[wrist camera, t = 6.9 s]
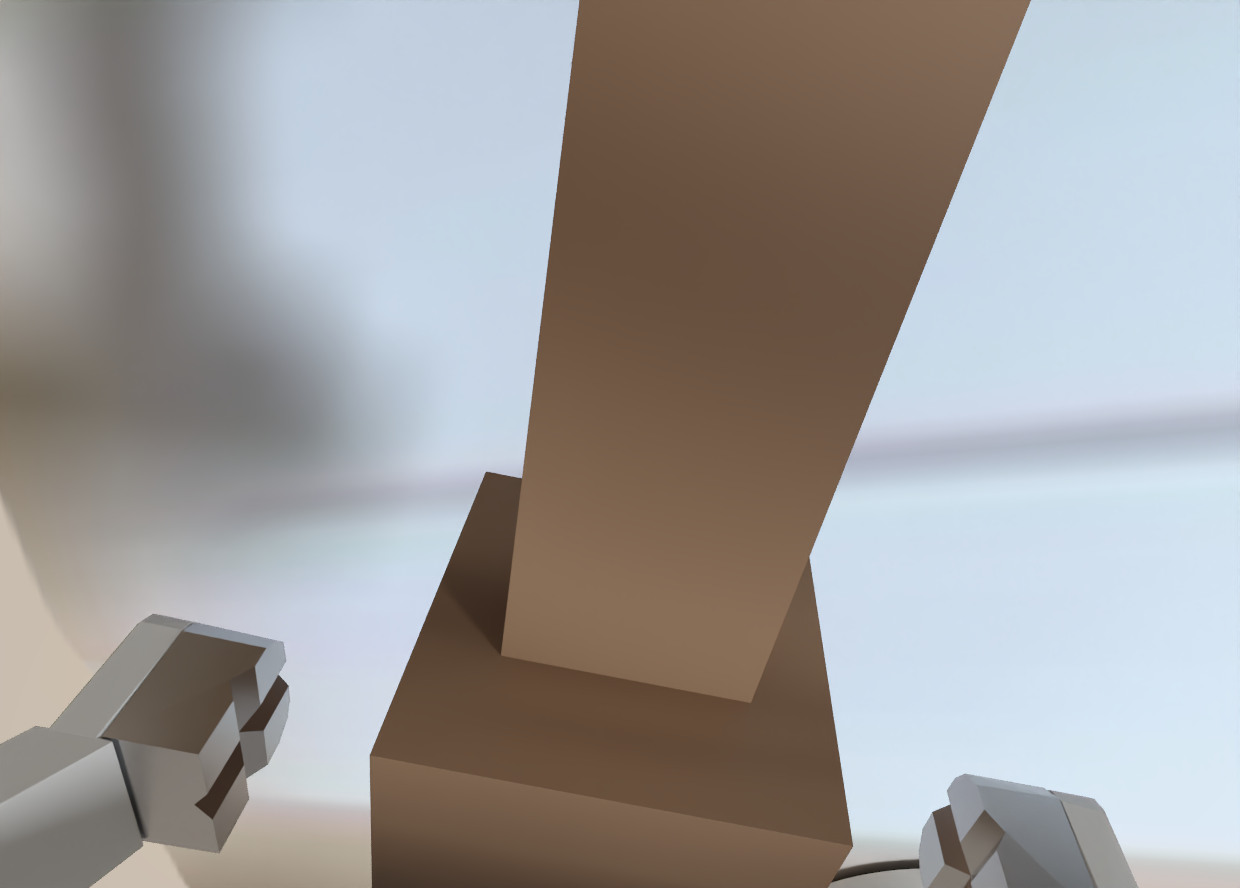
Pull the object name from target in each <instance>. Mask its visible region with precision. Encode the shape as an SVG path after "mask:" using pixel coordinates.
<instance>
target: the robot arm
mask: <svg viewBox="0 0 1240 888" xmlns="http://www.w3.org/2000/svg"><path fill="white" fill-rule="evenodd" d="M285 662H286V656H285V649H284V643H283V642H281V641H277V640H272V639H268V638H263V637H259V636H254V635H250V634H245V633H241V632H236V631H232V630H228V629H223V628H219V627H214V626H210V625H205V624H201V623H196V622H192V621H187V620H182V619H177V618H172V617H167V616H162V615H157V614H152V615H151V616H149V617H147V618H146V619H144V620H143V621H141V622H140V623H138V624H137V625H136V626H135V628H134V629H133V630H132V631H131V632H130V633H129V635H128V636H127V637H126V638H125V639H124V641H123V642H122V643H121V644H120V645H119V646H118V648H117V649H116V650H115V651H114V652H113V654H112V655H111V656H110V657H109V658H108V659H107V661H106V662H105V663H104V664H103V665H102V667H101V668H100V669H99V670H98V671H97V672H96V674H95V675H94V676H93V677H92V678H91V680H90V681H89V682H88V683H87V684H86V686H85V687H84V688H83V689H82V690H81V691H80V693H79V694H78V695H77V696H76V697H75V698H74V700H73V701H72V702H71V703H70V704H69V706H68V707H67V708H66V709H65V710H64V712H63V713H62V714H61V715H60V716H59V717H58V719H57V720H56V721H55V722H54V723H53V725H52V726H51V727H50V728H45V727H39V726H35V727H33V728H31V729H29V730H27V731H25V732H23V733H21V734H20V735H17V736H15V737H14V738H11V739H10V740H7V741H6V742H4V743H2V744H0V888H89V887H90V886H92V885H93V884H94V883H96V882H97V881H98V880H99V879H101V878H102V877H103V876H105V875H106V874H107V873H109V872H110V871H111V870H113V869H114V868H115V867H116V866H118V865H119V864H120V863H122V862H123V861H124V860H126V859H127V858H128V857H129V856H131V855H132V854H133V853H135V852H136V851H137V850H139V849H140V848H141V847H142V846H143V841H147V842H153V843H159V844H165V845H171V846H177V847H183V848H189V849H196V850H202V851H208V852H214V853H220V851H221V849H222V847H223V846H224V844H225V842H226V840H227V838H228V836H229V835H230V833H231V831H232V829H233V827H234V826H235V824H236V822H237V820H238V818H239V816H240V815H241V813H242V811H243V809H244V807H245V805H246V804H247V802H248V800H249V795H248V788H247V781H246V778H248V777H249V776H251V775H252V774H254V773H255V772H257V771H258V770H260V769H262V768H263V767H265V766H266V765H268V763H269V761H270V759H271V757H272V755H273V753H274V752H275V750H276V748H277V746H278V744H279V742H280V739H281V736H282V733H283V730H284V727H285V724H286V721H287V718H288V710H289V703H290V695H289V686H288V685H287V684H286V682H285V681H284V680H283V679H282V678H281V677H280V676H279V675H278V674H279V673H280V671H281V669H282V668H283V666H284V664H285ZM947 793H948V797H949V801H950V805H948V806H946V807H943V808H941V809H939V810H936V811H934V812H932V814H931V816H930V817H929V819H928V821H927V823H926V824H925V826H924V828H923V830H922V836H921V842H920V848H919V865H920V869H903V870H892V871H883V872H876V873H870V874H865V875H859V876H855V877H851V878H846V879H843V880H839V881H836V882H832V883H831V884H830V885H829V887H828V888H1138V885H1137V883H1136V881H1135V879H1134V876H1133V874H1132V872H1131V870H1130V867H1129V865H1128V863H1127V861H1126V858H1125V856H1124V854H1123V852H1122V849H1121V847H1120V845H1119V843H1118V840H1117V838H1116V836H1115V834H1114V831H1113V829H1112V827H1111V825H1110V822H1109V820H1108V818H1107V816H1106V813H1105V811H1104V810H1103V808H1102V807H1101V806H1100V805H1099V804H1098V803H1097V802H1096V801H1095V799H1092V798H1088V797H1083V796H1078V795H1073V794H1067V793H1062V792H1057V791H1051V790H1046V789H1045V788H1042V787H1036V786H1031V785H1025V784H1019V783H1014V782H1008V781H1003V780H997V779H992V778H986V777H981V776H975V775H970V774H963V775H961V776H959V777H956V778H955V779H954V781H953V782H952V784H951V785H950V787H949V788H948V790H947Z"/></svg>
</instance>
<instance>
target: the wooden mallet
mask: <svg viewBox="0 0 1240 888" xmlns="http://www.w3.org/2000/svg"><path fill="white" fill-rule="evenodd" d="M1030 1H1031V0H580V1H579V10H578V18H577V26H576V35H575V43H574V51H573V59H572V68H571V76H570V84H569V93H568V101H567V109H566V118H565V126H564V134H563V143H562V151H561V159H560V168H559V176H558V184H557V193H556V201H555V209H554V218H553V226H552V234H551V243H550V251H549V259H548V268H547V276H546V284H545V293H544V301H543V309H542V318H541V326H540V334H539V342H538V351H537V359H536V367H535V376H534V384H533V392H532V401H531V409H530V417H529V426H528V434H527V442H526V451H525V459H524V467H523V476H522V478H517V477H511V476H506V475H501V474H496V473H491V472H486V473H485V476H484V478H483V481H482V483H481V485H480V488H479V490H478V493H477V495H476V498H475V500H474V502H473V505H472V507H471V510H470V512H469V515H468V517H467V520H466V522H465V524H464V527H463V529H462V532H461V534H460V537H459V539H458V542H457V544H456V546H455V549H454V551H453V554H452V556H451V559H450V561H449V563H448V566H447V568H446V571H445V573H444V576H443V578H442V581H441V583H440V585H439V588H438V590H437V593H436V595H435V598H434V600H433V602H432V605H431V607H430V610H429V612H428V615H427V617H426V620H425V622H424V624H423V627H422V629H421V632H420V634H419V637H418V639H417V642H416V644H415V646H414V649H413V651H412V654H411V656H410V659H409V661H408V663H407V666H406V668H405V671H404V673H403V676H402V678H401V681H400V683H399V685H398V688H397V690H396V693H395V695H394V698H393V700H392V702H391V705H390V707H389V710H388V712H387V715H386V717H385V720H384V722H383V724H382V727H381V729H380V732H379V734H378V737H377V739H376V742H375V744H374V746H373V749H372V751H371V754H370V796H371V854H372V888H828V887H829V885H830V884H831V882H832V880H833V879H834V877H835V875H836V874H837V872H838V870H839V869H840V867H841V865H842V864H843V862H844V860H845V859H846V857H847V855H848V854H849V852H850V850H851V849H852V847H853V843H852V836H851V829H850V823H849V816H848V810H847V803H846V796H845V790H844V783H843V777H842V770H841V763H840V757H839V750H838V744H837V737H836V730H835V724H834V717H833V711H832V704H831V697H830V691H829V684H828V678H827V671H826V664H825V658H824V651H823V645H822V638H821V631H820V625H819V618H818V612H817V605H816V598H815V592H814V585H813V578H812V572H811V565H810V559H809V556H810V553H811V551H812V548H813V546H814V543H815V541H816V538H817V536H818V533H819V531H820V528H821V526H822V523H823V520H824V518H825V515H826V513H827V510H828V508H829V505H830V503H831V500H832V498H833V495H834V493H835V490H836V488H837V485H838V483H839V480H840V478H841V475H842V473H843V470H844V468H845V465H846V463H847V460H848V458H849V455H850V453H851V450H852V448H853V445H854V443H855V440H856V438H857V435H858V433H859V430H860V428H861V425H862V423H863V420H864V418H865V415H866V413H867V410H868V408H869V405H870V403H871V400H872V398H873V395H874V392H875V390H876V387H877V385H878V382H879V380H880V377H881V375H882V372H883V370H884V367H885V365H886V362H887V360H888V357H889V355H890V352H891V350H892V347H893V345H894V342H895V340H896V337H897V335H898V332H899V330H900V327H901V325H902V322H903V320H904V317H905V315H906V312H907V310H908V307H909V305H910V302H911V300H912V297H913V295H914V292H915V290H916V287H917V285H918V282H919V280H920V277H921V275H922V272H923V269H924V267H925V264H926V262H927V259H928V257H929V254H930V252H931V249H932V247H933V244H934V242H935V239H936V237H937V234H938V232H939V229H940V227H941V224H942V222H943V219H944V217H945V214H946V212H947V209H948V207H949V204H950V202H951V199H952V197H953V194H954V192H955V189H956V187H957V184H958V182H959V179H960V177H961V174H962V172H963V169H964V167H965V164H966V162H967V159H968V157H969V154H970V152H971V149H972V147H973V144H974V141H975V139H976V136H977V134H978V131H979V129H980V126H981V124H982V121H983V119H984V116H985V114H986V111H987V109H988V106H989V104H990V101H991V99H992V96H993V94H994V91H995V89H996V86H997V84H998V81H999V79H1000V76H1001V74H1002V71H1003V69H1004V66H1005V64H1006V61H1007V59H1008V56H1009V54H1010V51H1011V49H1012V46H1013V44H1014V41H1015V39H1016V36H1017V34H1018V31H1019V29H1020V26H1021V24H1022V21H1023V19H1024V16H1025V13H1026V11H1027V8H1028V6H1029V3H1030Z"/></svg>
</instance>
